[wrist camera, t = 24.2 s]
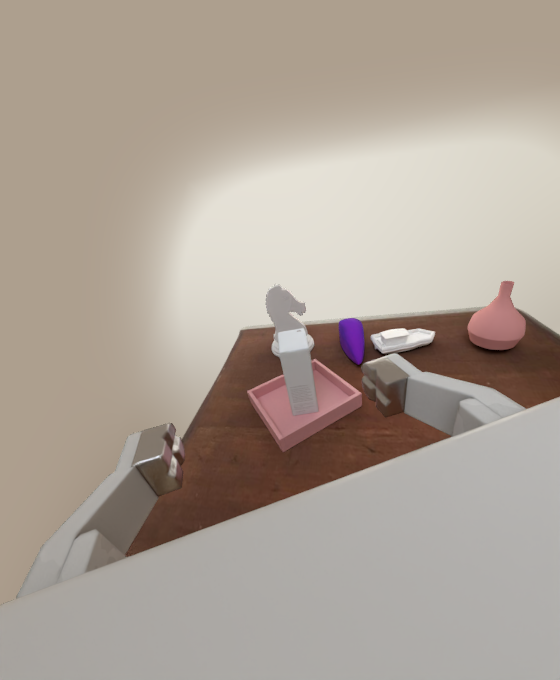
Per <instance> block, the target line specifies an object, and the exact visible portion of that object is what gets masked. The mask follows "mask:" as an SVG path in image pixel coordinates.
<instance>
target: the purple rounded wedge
mask: <svg viewBox="0 0 560 680" xmlns="http://www.w3.org/2000/svg"><path fill="white" fill-rule="evenodd" d="M339 335H340V343H341V346H342V349H343V350H344V352H345V353H346V355H347V356H348V357H349V358H350V359H351V360H352V361H353V362H355V363H356V364H358V365H359V364H361V363H362V361H363V357H364V331H363V326H362V323H361V322H360V321H359V320H358V319H355V318H349V319H344V320H341V321H340V322H339Z"/></svg>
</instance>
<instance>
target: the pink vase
mask: <svg viewBox="0 0 560 680" xmlns="http://www.w3.org/2000/svg"><path fill="white" fill-rule="evenodd" d="M513 285H514V282H512V281H503V282H501V286H500V290H499V294H498V296H497V297H496V298H495V299H494V300H493V301H492V302H491V303H490V304H489V305H488V306H487V307H485V308H483V309H481V310H480V311H478V312H476V313H475V314H474V315H473V316H472V318H471V320H470V322H469V325H468V332H469V337H470V340H471V341H472V343H474V344H476V345H477V346H480V347H483V348H486V349H490V350H506V349H510V348H513V347H514V346H515V345H516V344H517V343H518V342H519V341H520V339H521V338H522V337H523V336H524V334H525V323H526V321H525V319H524V318H523V316H522V315H521V314H520V313H519V312H518V311H517V310H516V309H515V308H514V305H513V303H512V300H511V298H510V295H511V292H512V288H513Z"/></svg>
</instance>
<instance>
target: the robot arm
mask: <svg viewBox="0 0 560 680" xmlns="http://www.w3.org/2000/svg"><path fill="white" fill-rule="evenodd" d="M362 372H363V373H364V374H365V375H364V377H363V378H362V387H363V390H364V392H365V394H366V396H367V397H368V398H369V399H370V400H372V401H374V402H376V407H377V409H378V410H379V411H380V412H381V413H382V414H383V416H384V417H385V418H386V417H389V416H392V415H396V414H399V413H402V412H404V413H406V414H408V415H410V416H412V417H414V418H416V419H418V420H420V421H422V422H424V423H426V424H428V425H430V426H432V427H434V428H436V429H438V430H440V431H443V432H445V433H447V434H449V435H451V437H450V438H447V439H445V440H442V441H439V442H437V443H434V444H431V445H429V446H426V447H423V448H420V449H418V450H415V451H412V452H410V453H407V454H404V455H402V456H399V457H396V458H394V459H391V460H388V461H386V462H383V463H380V464H378V465H375V466H372V467H369V468H367V469H364V470H361V471H359V472H356V473H353V474H351V475H348V476H345V477H343V478H340V479H337V480H335V481H332V482H329V483H327V484H324V485H321V486H318V487H316V488H313V489H310V490H308V491H305V492H302V493H300V494H297V495H294V496H291V497H289V498H286V499H283V500H281V501H278V502H275V503H273V504H270V505H267V506H264V507H262V508H259V509H256V510H254V511H251V512H248V513H246V514H243V515H240V516H237V517H235V518H232V519H229V520H227V521H224V522H221V523H219V524H216V525H213V526H211V527H208V528H205V529H202V530H200V531H197V532H194V533H192V534H189V535H186V536H184V537H181V538H178V539H176V540H173V541H170V542H168V543H165V544H162V545H159V546H157V547H154V548H151V549H149V550H146V551H143V552H141V553H138V554H135V555H133V556H130V557H126V556H125V554H126V552H127V551H128V549H129V547H130V545H131V544H132V542H133V540H134V539H135V537H136V535H137V534H138V532H139V530H140V529H141V527H142V525H143V523H144V522H145V520H146V518H147V517H148V515H149V513H150V512H151V510H152V508H153V507H154V505H155V503H156V501H157V500H158V497H159V496H161V495H164V494H167V493H169V492H172V491H175V490H177V489H180V488H182V481H183V470H182V468H181V465H182V464H183V462H184V461H185V450H184V445H183V442H182V440H181V438H180V437H179V436H176V435H175V432H176V429H175V427H174V425H173V424H172V423H168V424H164V425H161V426H157V427H153V428H150V429H146V430H144V431H140V432H137V433H133V434H130V435H129V436H128V437H127V440H126V442H125V445H124V448H123V451H122V453H121V456H120V459H119V462H118V464H117V467H116V470H115V472H114V473H112V474H110V475H109V476H108V477H107V478H106V479H105V480H104V481H103V482H102V483H101V484H100V485H99V486H98V487H97V489H95V491H94V492H93V493H92V494H91V495H90V496H89V497H88V498H87V499H86V500H85V501H84V502H83V503H82V504H81V505H80V507H78V509H77V510H76V511H75V512H74V513H73V514H72V515H71V516H70V517H69V518H68V519H67V520H66V521H65V522H64V523H63V524H62V526H61V527H60V528H59V529H58V530H57V531H56V532H55V533H54V534H53V535H52V536H51V537H50V538H49V539H48V540H47V541H46V542H45V544H44V545H43V546H42V547H41V549H40V551H39V553H38V555H37V557H36V559H35V561H34V563H33V565H32V567H31V569H30V571H29V573H28V575H27V577H26V579H25V581H24V583H23V585H22V587H21V589H20V591H19V593H18V595H17V597H16V599H14V600H11V601H9V602H6V603H3V604H1V605H0V680H560V397H558V398H555V399H553V400H550V401H547V402H544V403H542V404H539V405H536V406H534V407H531V408H528V409H525V408H524V407H522V406H521V405H519V404H517V403H516V402H514V401H512V400H511V399H509V398H508V397H506V396H504V395H503V394H501V393H500V392H498V391H496V390H495V389H493V388H489V387H485V386H481V385H477V384H473V383H469V382H465V381H461V380H457V379H453V378H449V377H445V376H441V375H437V374H433V373H429V372H423V373H422V372H421V371H420V370H418V369H417V368H416V367H414V366H413V365H412V364H410V363H409V362H407V361H406V360H405V359H403V358H402V357H401V356H399V355H398V354H395V353H393V354H390V355H387V356H384V357H382V358H379V359H376V360H372V361H369V362H366V363H363V364H362Z"/></svg>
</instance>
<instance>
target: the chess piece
mask: <svg viewBox="0 0 560 680" xmlns="http://www.w3.org/2000/svg"><path fill="white" fill-rule="evenodd" d="M266 308H267V313H268V314H269V317H270V318H271V320H272V321H273V322H274V325H275V328H276V332H275V334H274V339H275V340H274V342H273V343H272V352H273V354H274V355H276V356H278V357H280V355H279V344H278V333H279V332H283V331H289V330H295V329H301V328H304V329H305V333H306V336H307V341H308V345H309V350H310V351H311V350H312V349H313V347H314V341H313V339H312V337H311V336H310V335H308V334H307V329H306V326H305V325H304V324H303V323H302V322H301V321H299V320H298V319H297V318H296V317H294V316H293V315H292V314H291V313H289V312H296V313H298V314H299V315H300V316H301V315H303V313H305V311H306V307H305V303H304V302H301V301H298V300H297V299H296V298H295V297H294V296H293V295H292V294H291V292H290V291H289V290H287V289H285V288H281V285H279V284H278V285H274V286H272V287H271V288H270V289H269V291H268V293H267V295H266Z"/></svg>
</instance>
